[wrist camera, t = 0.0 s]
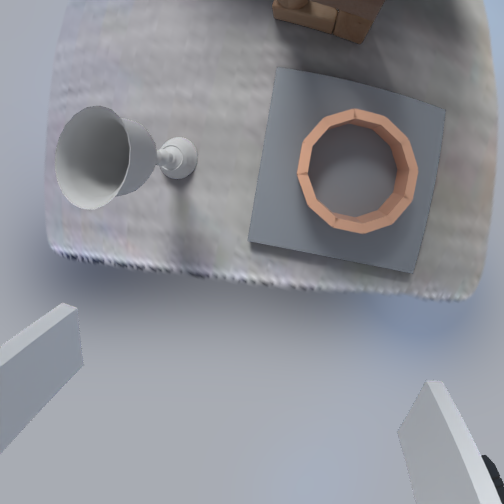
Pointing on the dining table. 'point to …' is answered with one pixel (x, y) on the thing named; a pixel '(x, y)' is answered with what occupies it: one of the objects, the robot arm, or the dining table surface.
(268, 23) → the dining table surface
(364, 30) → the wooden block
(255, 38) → the dining table surface
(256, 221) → the slate board
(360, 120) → the ceramic collar
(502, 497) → the robot arm
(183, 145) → the chalice
